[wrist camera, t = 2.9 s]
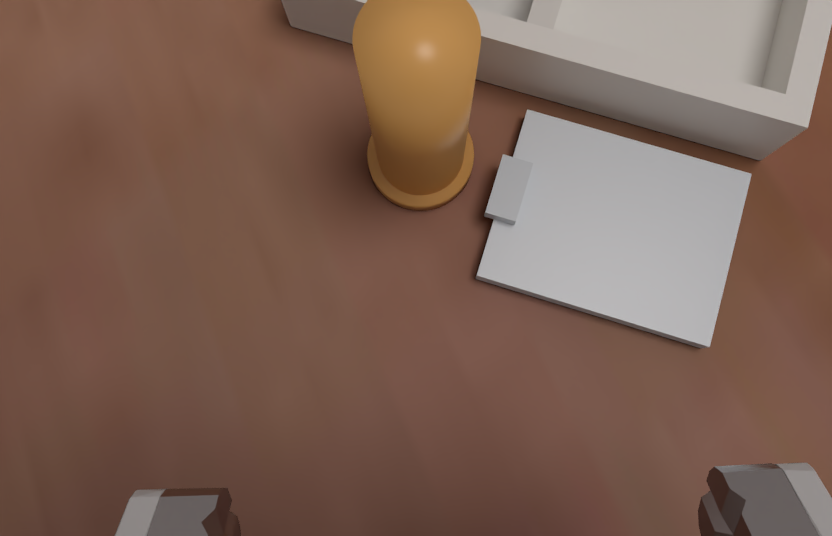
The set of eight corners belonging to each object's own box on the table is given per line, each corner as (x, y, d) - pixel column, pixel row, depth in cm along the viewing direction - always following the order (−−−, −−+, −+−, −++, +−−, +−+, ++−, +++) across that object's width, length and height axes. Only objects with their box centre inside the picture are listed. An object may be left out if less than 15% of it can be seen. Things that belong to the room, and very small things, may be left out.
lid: (465, 275, 27) (467, 269, 25) (515, 114, 28) (519, 100, 27) (701, 348, 26) (716, 346, 25) (742, 180, 27) (759, 168, 26)
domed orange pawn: (355, 193, 28) (315, 86, 18) (387, 99, 28) (365, -53, 19) (455, 223, 27) (470, 131, 18) (485, 127, 28) (515, -12, 18)
